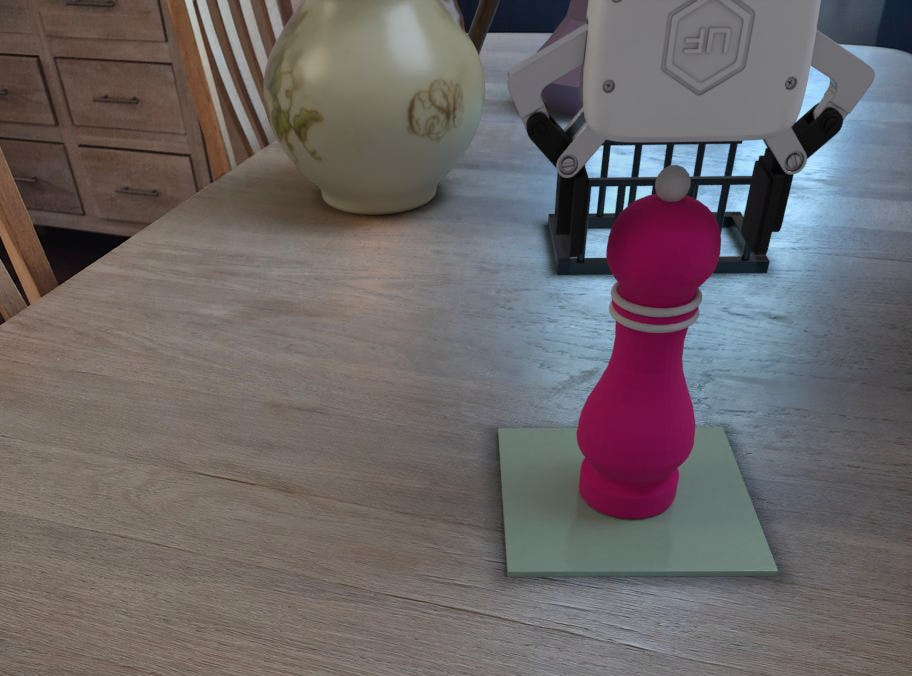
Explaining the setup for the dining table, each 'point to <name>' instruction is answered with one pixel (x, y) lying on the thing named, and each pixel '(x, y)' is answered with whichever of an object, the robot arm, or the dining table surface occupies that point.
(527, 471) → the tile
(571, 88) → the mauve faceted vase
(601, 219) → the rack
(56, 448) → the dining table surface
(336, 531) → the dining table surface
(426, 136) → the pitcher
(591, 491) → the pepper mill
